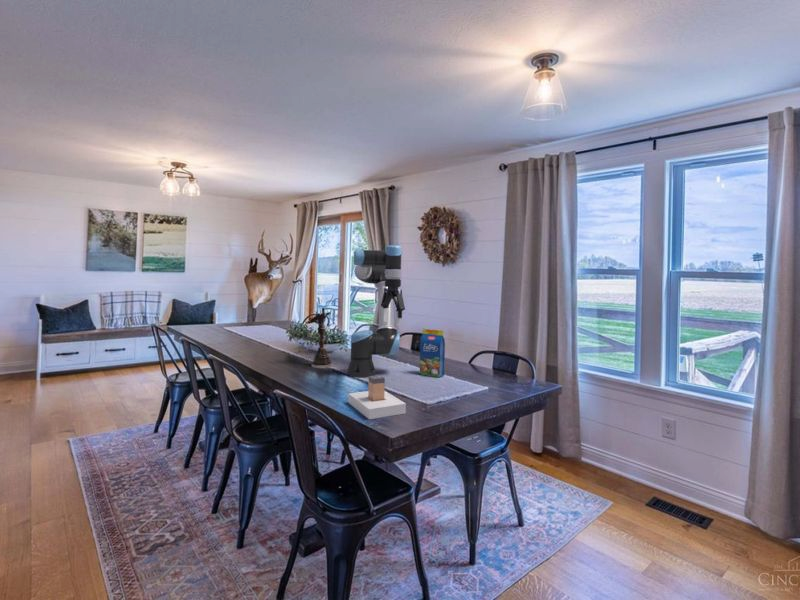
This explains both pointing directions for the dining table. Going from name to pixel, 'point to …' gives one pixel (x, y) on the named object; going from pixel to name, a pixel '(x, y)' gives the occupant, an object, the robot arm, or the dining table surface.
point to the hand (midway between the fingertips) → (392, 323)
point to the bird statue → (321, 356)
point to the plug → (376, 388)
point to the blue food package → (432, 353)
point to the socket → (376, 405)
